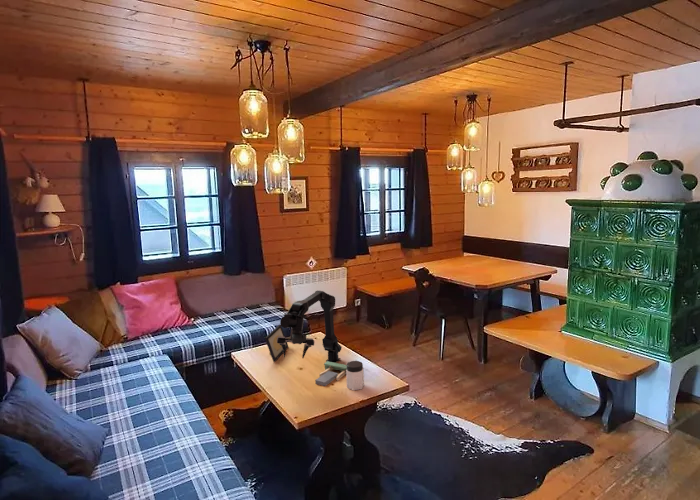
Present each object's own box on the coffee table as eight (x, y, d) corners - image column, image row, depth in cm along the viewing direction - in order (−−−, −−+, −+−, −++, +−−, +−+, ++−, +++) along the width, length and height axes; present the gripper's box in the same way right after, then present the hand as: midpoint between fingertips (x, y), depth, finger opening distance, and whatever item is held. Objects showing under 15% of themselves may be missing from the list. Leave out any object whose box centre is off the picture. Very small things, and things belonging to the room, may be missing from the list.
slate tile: (328, 375, 235) (328, 370, 235) (338, 377, 232) (337, 373, 231) (315, 384, 225) (315, 380, 225) (325, 387, 222) (324, 382, 221)
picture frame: (275, 361, 254) (270, 337, 252) (261, 362, 256) (256, 338, 254) (288, 346, 277) (284, 324, 275) (275, 347, 278) (271, 325, 276)
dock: (328, 367, 244) (327, 360, 244) (353, 372, 236) (352, 365, 236) (315, 376, 234) (315, 369, 233) (341, 381, 226) (341, 375, 225)
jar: (348, 391, 215) (347, 368, 213) (345, 384, 223) (344, 362, 221) (366, 388, 217) (365, 366, 215) (362, 381, 225) (361, 359, 223)
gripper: (279, 328, 213) (276, 360, 212) (317, 330, 217) (314, 362, 216) (278, 325, 224) (275, 355, 223) (314, 327, 228) (311, 357, 227)
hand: (293, 357), depth 222 cm, fingers open, 9 cm apart
